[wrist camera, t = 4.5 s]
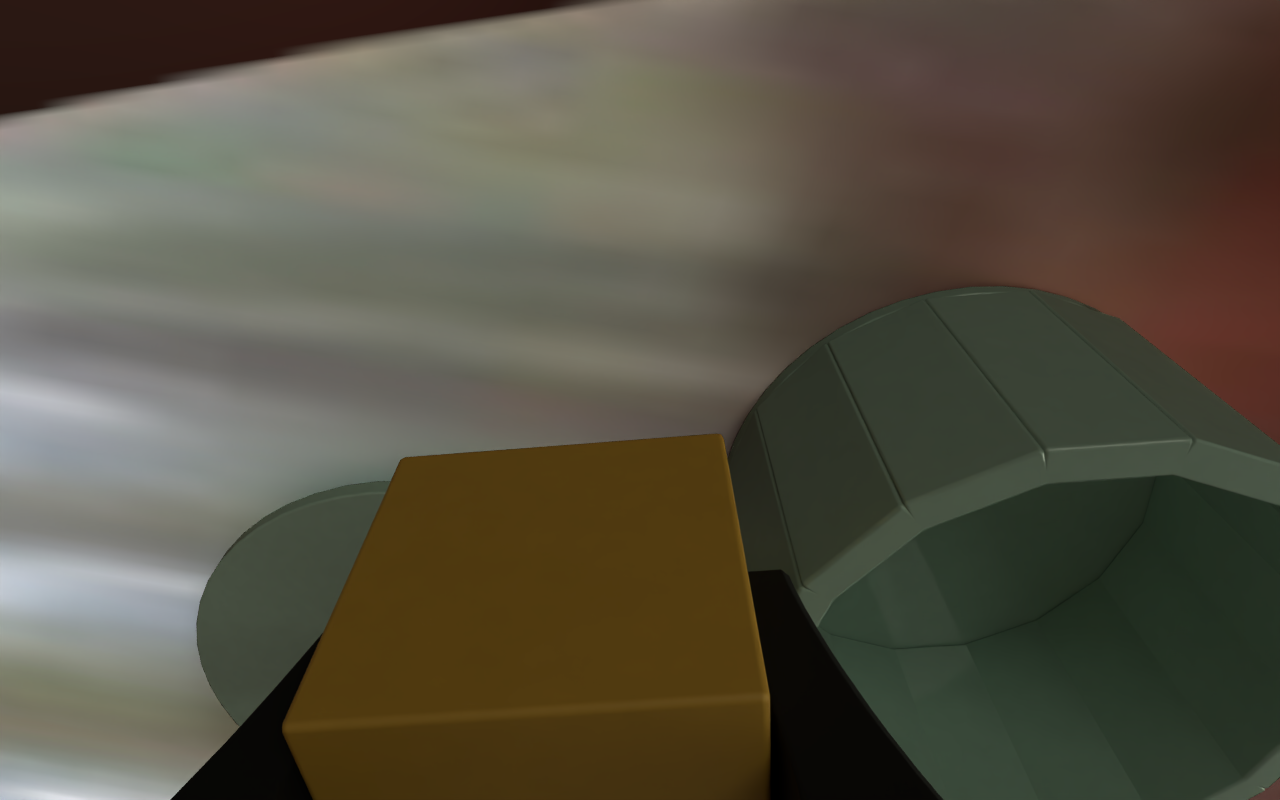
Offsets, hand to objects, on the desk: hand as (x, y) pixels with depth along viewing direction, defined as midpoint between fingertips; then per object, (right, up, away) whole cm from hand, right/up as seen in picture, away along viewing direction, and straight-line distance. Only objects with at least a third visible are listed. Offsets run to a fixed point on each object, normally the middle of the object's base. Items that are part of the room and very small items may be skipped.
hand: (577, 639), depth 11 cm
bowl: (+9, +1, +10) cm, 13 cm away
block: (0, +1, +1) cm, 1 cm away
